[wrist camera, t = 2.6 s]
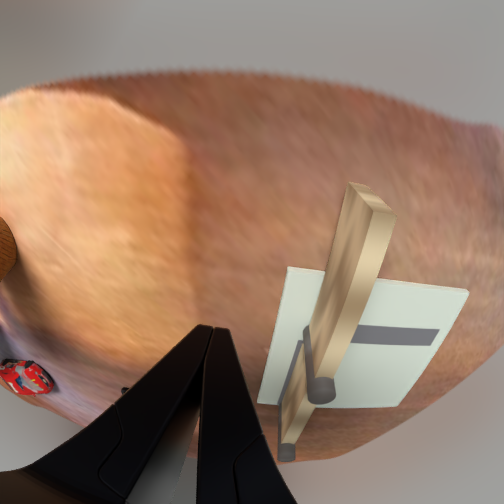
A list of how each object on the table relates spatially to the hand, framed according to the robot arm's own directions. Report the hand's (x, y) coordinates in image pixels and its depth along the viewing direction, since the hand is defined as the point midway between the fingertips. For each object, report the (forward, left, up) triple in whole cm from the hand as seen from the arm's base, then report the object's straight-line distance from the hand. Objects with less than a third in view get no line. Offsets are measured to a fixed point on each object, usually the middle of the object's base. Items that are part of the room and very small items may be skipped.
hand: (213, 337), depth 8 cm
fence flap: (-4, -6, -11) cm, 14 cm away
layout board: (-13, -11, -12) cm, 21 cm away
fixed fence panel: (-15, -6, -12) cm, 21 cm away
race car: (-29, +31, -13) cm, 44 cm away
